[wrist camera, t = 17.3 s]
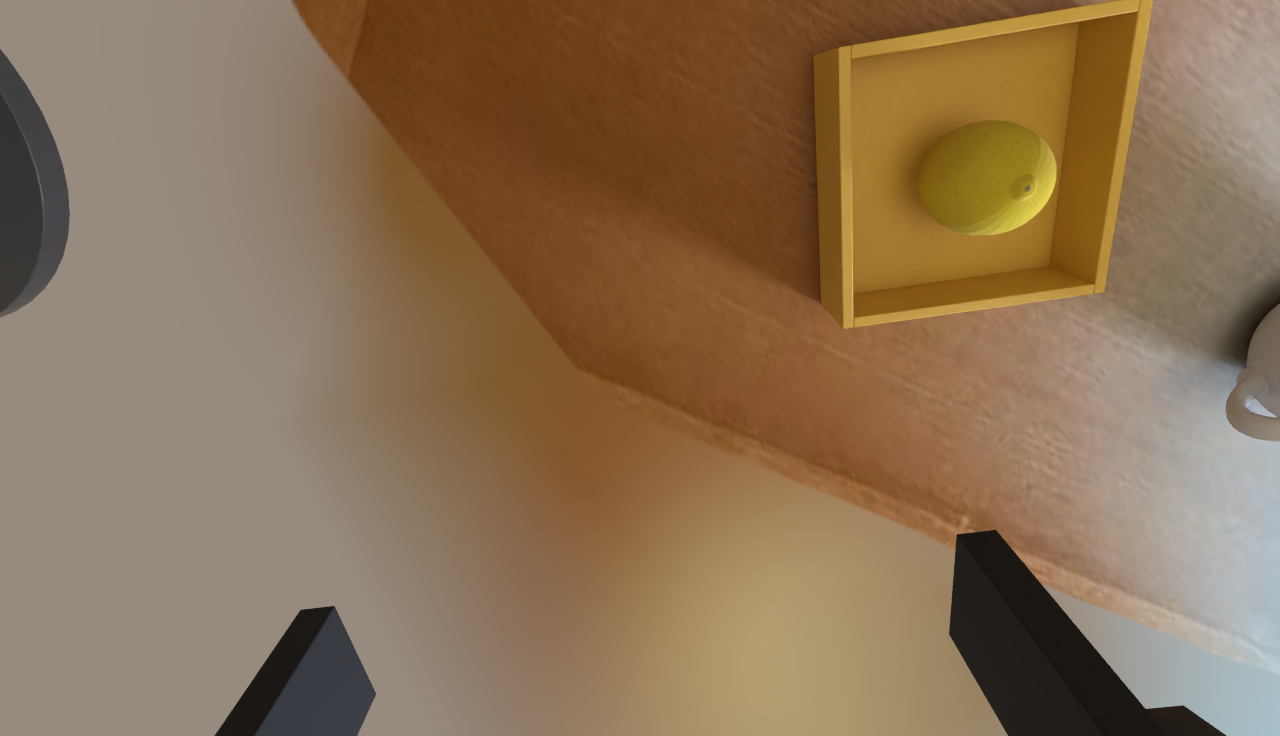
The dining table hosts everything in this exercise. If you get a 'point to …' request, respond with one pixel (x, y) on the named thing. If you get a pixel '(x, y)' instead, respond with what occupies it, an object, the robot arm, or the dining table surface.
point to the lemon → (987, 177)
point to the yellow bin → (944, 101)
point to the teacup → (1259, 383)
